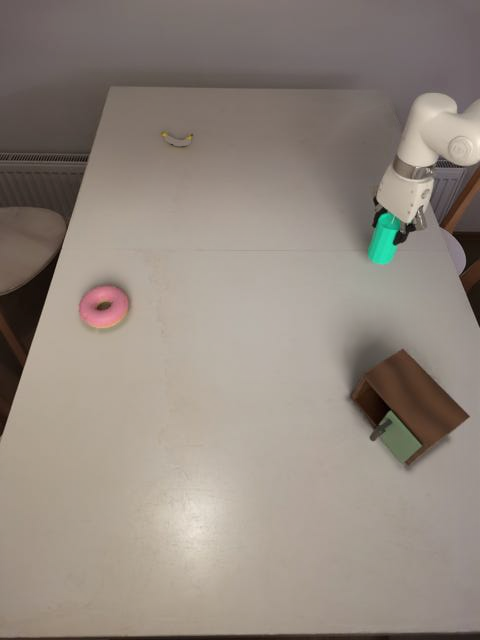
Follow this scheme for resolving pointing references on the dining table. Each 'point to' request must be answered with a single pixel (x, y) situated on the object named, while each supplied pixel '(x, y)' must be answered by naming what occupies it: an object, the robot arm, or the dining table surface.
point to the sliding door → (396, 437)
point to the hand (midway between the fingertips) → (388, 233)
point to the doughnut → (108, 315)
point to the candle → (384, 239)
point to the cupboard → (408, 401)
